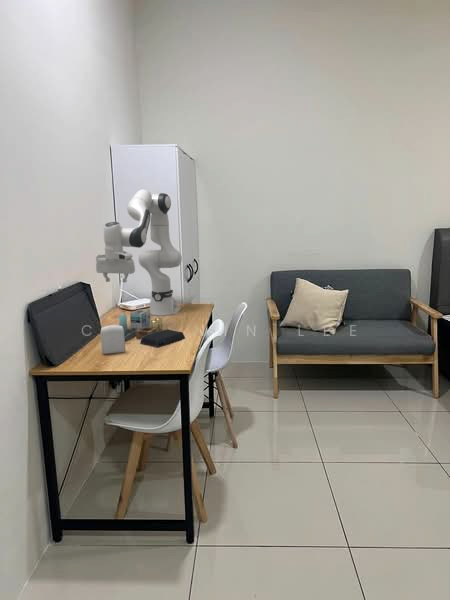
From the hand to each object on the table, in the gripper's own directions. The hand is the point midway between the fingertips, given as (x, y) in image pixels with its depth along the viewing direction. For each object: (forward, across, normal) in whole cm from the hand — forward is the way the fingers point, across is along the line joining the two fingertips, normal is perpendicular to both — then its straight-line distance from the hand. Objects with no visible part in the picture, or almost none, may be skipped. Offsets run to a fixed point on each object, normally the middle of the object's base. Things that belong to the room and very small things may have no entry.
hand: (116, 281), depth 233 cm
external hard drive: (+27, +29, -12) cm, 41 cm away
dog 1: (+26, +20, -1) cm, 33 cm away
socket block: (+26, +19, -7) cm, 33 cm away
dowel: (+26, +8, -10) cm, 29 cm away
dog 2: (+26, +20, +4) cm, 34 cm away
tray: (+26, +8, -10) cm, 29 cm away
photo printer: (+26, +14, -33) cm, 44 cm away
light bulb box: (+27, +11, +3) cm, 29 cm away
